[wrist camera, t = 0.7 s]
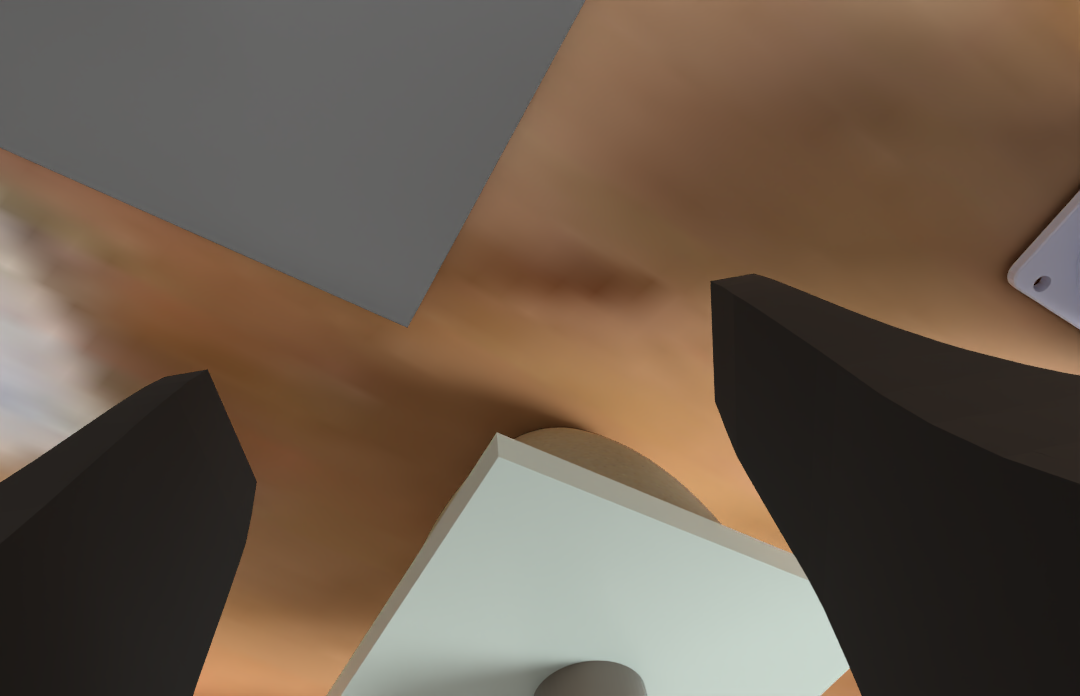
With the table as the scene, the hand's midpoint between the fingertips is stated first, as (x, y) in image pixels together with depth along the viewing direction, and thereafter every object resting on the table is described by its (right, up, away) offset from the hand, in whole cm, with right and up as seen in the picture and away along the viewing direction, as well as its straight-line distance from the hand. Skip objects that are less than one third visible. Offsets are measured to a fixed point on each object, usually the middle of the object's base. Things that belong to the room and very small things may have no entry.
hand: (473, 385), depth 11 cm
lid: (+2, -8, +8) cm, 11 cm away
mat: (-5, +8, +7) cm, 12 cm away
